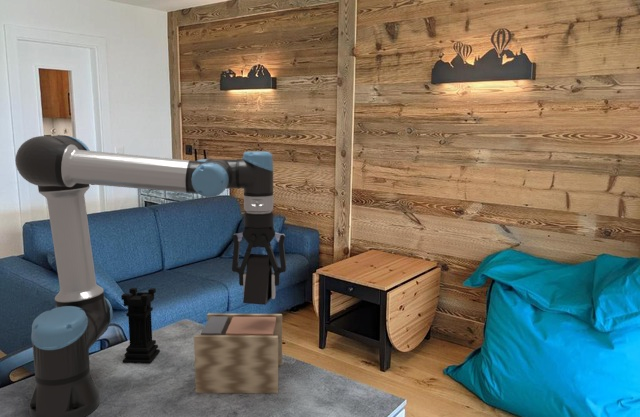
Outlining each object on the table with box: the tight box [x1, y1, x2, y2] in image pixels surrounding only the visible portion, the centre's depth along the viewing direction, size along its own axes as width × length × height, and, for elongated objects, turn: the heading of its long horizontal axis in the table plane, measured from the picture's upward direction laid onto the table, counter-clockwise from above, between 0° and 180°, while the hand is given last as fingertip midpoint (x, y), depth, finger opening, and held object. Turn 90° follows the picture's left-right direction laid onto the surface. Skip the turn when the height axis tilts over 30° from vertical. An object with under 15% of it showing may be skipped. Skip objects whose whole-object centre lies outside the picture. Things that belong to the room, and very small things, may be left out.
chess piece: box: [120, 287, 161, 365], centre depth 151 cm, size 8×8×20 cm
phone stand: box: [242, 253, 274, 306], centre depth 137 cm, size 9×6×12 cm, turn 168°
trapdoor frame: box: [193, 312, 283, 394], centre depth 140 cm, size 21×17×15 cm
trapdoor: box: [200, 316, 276, 336], centre depth 139 cm, size 18×12×4 cm, turn 90°
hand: (259, 297), depth 137 cm, fingers closed on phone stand, 7 cm apart
